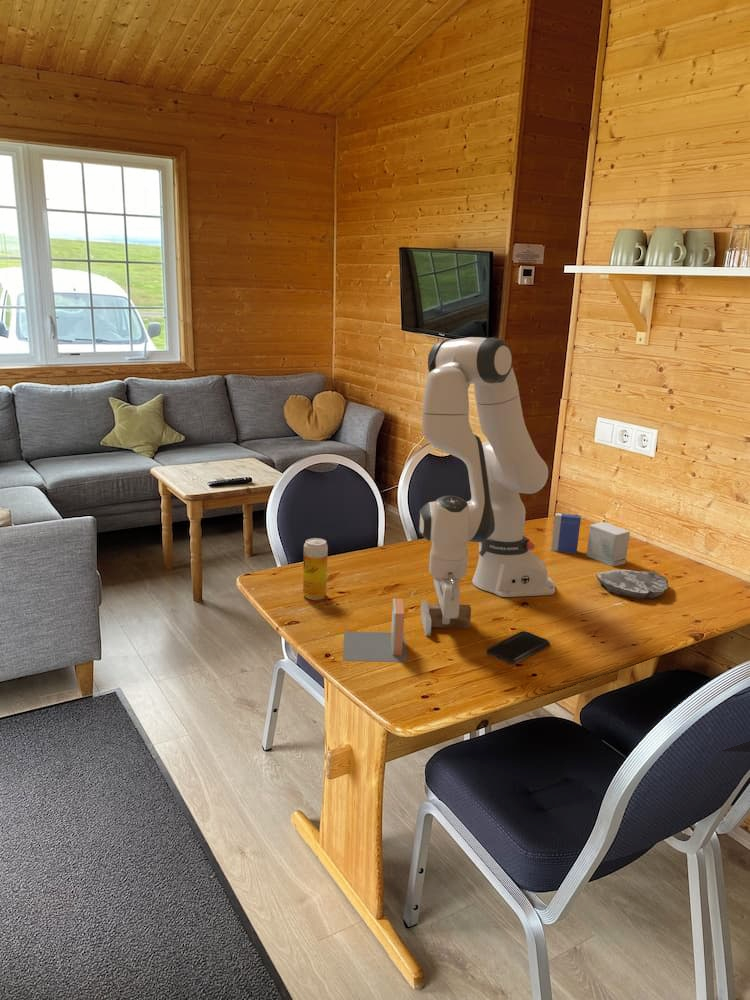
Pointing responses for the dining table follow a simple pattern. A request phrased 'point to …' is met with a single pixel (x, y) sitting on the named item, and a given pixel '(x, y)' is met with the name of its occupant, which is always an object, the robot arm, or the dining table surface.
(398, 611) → the terracotta tile
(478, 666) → the dining table surface
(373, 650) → the charcoal mat
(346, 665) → the dining table surface
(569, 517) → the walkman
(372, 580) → the dining table surface
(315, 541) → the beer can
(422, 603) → the walnut scraper
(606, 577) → the grey stone slab
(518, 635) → the phone
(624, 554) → the skincare box
